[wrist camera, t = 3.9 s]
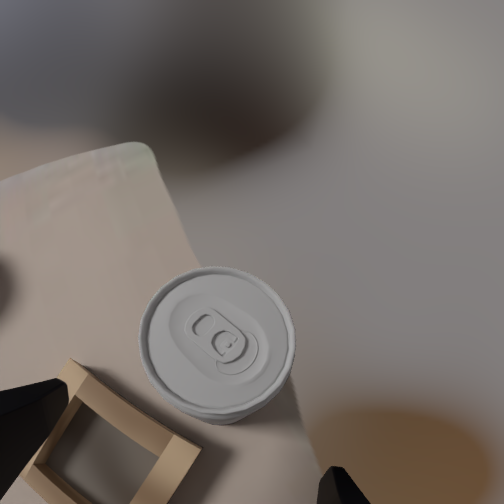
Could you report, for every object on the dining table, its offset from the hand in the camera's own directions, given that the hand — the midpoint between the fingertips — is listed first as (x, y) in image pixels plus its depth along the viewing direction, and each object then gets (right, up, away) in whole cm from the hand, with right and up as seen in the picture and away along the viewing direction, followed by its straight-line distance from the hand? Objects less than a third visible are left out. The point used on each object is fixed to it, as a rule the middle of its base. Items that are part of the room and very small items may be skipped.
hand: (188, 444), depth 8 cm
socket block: (-8, -8, +6) cm, 13 cm away
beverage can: (0, -3, +11) cm, 11 cm away
